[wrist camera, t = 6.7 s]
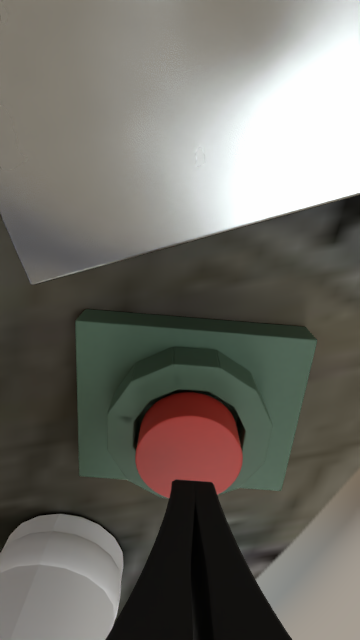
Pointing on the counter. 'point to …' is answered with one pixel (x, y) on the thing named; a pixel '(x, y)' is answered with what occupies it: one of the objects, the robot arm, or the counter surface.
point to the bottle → (59, 580)
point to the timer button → (188, 443)
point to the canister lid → (170, 121)
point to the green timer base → (188, 386)
